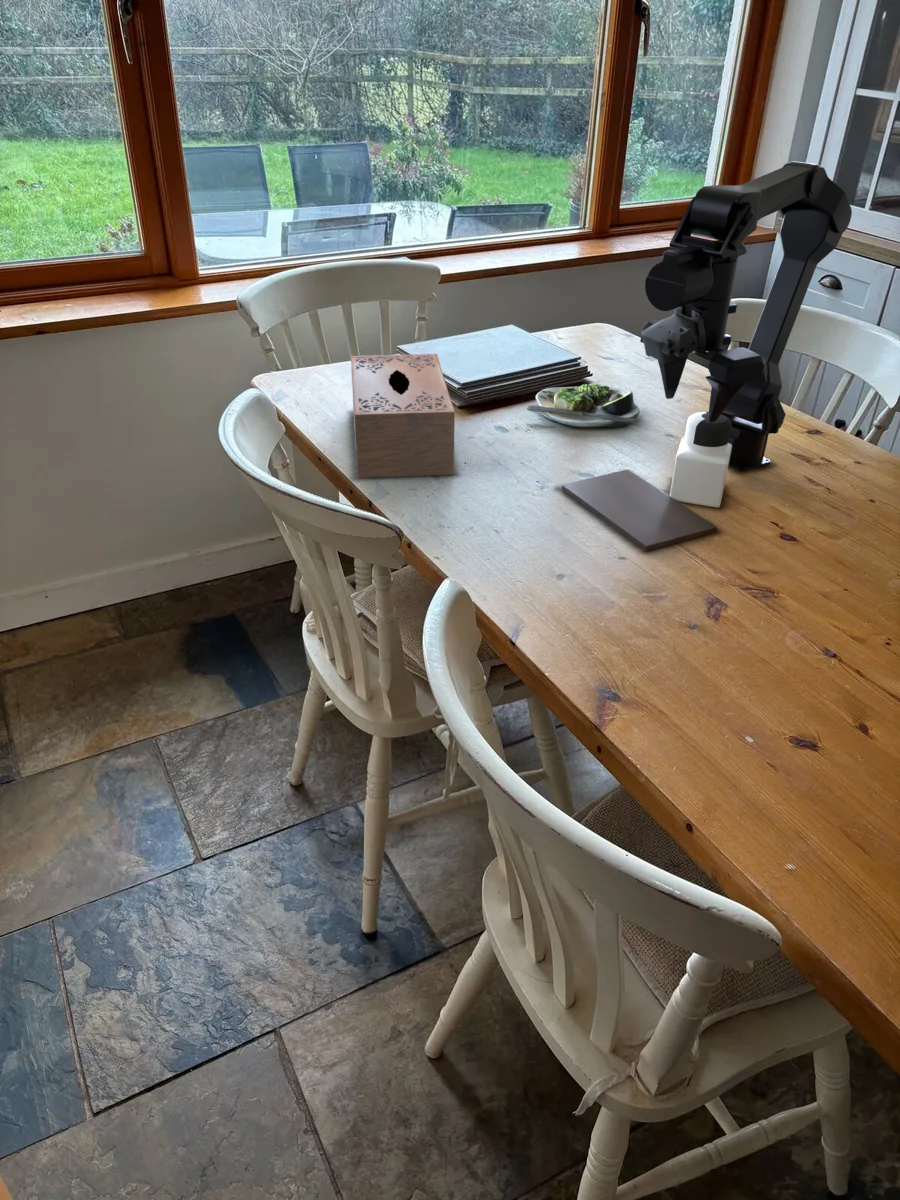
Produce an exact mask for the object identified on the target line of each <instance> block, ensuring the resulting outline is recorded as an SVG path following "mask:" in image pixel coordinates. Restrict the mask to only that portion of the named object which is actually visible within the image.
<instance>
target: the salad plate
mask: <svg viewBox="0 0 900 1200" xmlns="http://www.w3.org/2000/svg"><path fill="white" fill-rule="evenodd" d="M535 401H536V404H537V405H535V404H529V405H527V407H526V410H527V411H529V412H532V413H535V414H539V415H542V416H544V417H545V418H546V419H548V420H550V421H553V422H556V423H558V424H562V425H566V426H570V427H575V428H614V427H615V428H616V427H624V426H628V425H630V424H631V423H633V422H637V419H636V418H638V416H639V414H640V408H639V407H638V405H637V404H635V401H634V393H633V392H632V391H629V392H624V391H623V390H622V389H620V388H617V387H614V386H610V385H609V386H608V385H605V384H599V383H596V384H595V383H589V385H588V384H587V383H585V384H582V385H579V386H562V387H561V386H560V387H559V386H558V387H547V388H545V389H542V390H540V391H539V392H537V394H536V395H535Z"/></svg>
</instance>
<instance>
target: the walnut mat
mask: <svg viewBox="0 0 900 1200" xmlns="http://www.w3.org/2000/svg"><path fill="white" fill-rule="evenodd" d="M561 491H563V492H564V493H565V494H567V495H568V496H569V497H571V498H572V499H574V500H575V501H576V502H577V503H579V504H580V505H582V506H583V507H585V508H586V509H587V510H588V511H590V512H592V514H594V515H595V516H597V518H600V519H601V520H602V521H603V522H605V523H606V524H608V525H609V526H611V527H612V528H613V529H614V530H616V531H617V532H619V533H620V534H621V535H623V537H626V538H627V539H628V540H629V541H630V542H632V543H634V544H635V545H636V546H638V547H639V548H640V549H642V550H643V551H644V552H649V551H652V550H656V549H660V548H662V547H666V546H670V545H673V544H677V543H681V542H684V541H688V540H691V539H695V538H699V537H702V536H706V535H710V534H714V533H716V532H717V531H718V526H717V525H715V524H714V523H712V522H711V521H709V520H708V519H706V518H704V517H703V516H702V515H700V514H698V513H697V512H695V511H694V510H692V509H690V508H689V507H687V506H686V505H684V504H682V502H678V501H676V500H675V499H673V498H672V497H670V494H667V493H665V492H664V491H662V490H661V489H659V488H657V487H656V486H654V484H651V483H650V482H648V481H647V480H645V479H644V478H642V477H641V476H639V475H637V474H636V473H634V472H633V471H631V470H630V469H625V470H620V471H615V472H611V473H606V474H604V475H603V474H602V475H598V476H594V477H590V478H586V479H581V480H577V481H572V482H569V483H564V484H561Z"/></svg>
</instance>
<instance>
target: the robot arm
mask: <svg viewBox="0 0 900 1200" xmlns="http://www.w3.org/2000/svg"><path fill="white" fill-rule="evenodd" d="M777 212H779V214H780V216H781V218H782V223H781V227H780V229H779V237H780V241H781V248H782V252H783V253H782V257H781V260H780V263H779V265H778V268H777V271H776V273H775V277H774V279H773V282H772V284H771V287H770V290H769V292H768V295H767V298H766V301H765V303H764V306H763V308H762V311H761V313H760V317H759V319H758V322H757V325H756V327H755V330H754V333H753V335H752V337H751V340H750V343H749V346H748V348H745V347H738V348H732V349H727V350H724V349H723V346H727V345H731V341H732V338H733V337H732V336H731V335H729V334H727V333H726V331H727V324H728V319H729V315H731V314H736V313H737V308H738V304H736V303H733V302H731V301H732V295H733V290H734V284H735V278H736V273H737V266H738V262H739V257H741V256H744V255H746V254H747V252H748V248H747V247H746V245H745V244H744V240H745V239H746V238H747V237H749V236H750V235H751V234H753V233H755V231H756V230H757V226H758V221H760V220H762V219H763V218H765V217H767V216H769V215H772V214H774V213H777ZM852 213H853V210H852V206H851V204H850V201H849V198H848V196H847V193H846V191H844V189H842V188H841V187H840V186H839V185H838V184H837V183H835V182H834V180H832V179H831V178H829V176H828V174H827V171H826V168H824V166H823V167H822V166H821V165H820V164H817V163H809V162H803V161H802V162H801V161H796V160H795V161H790V162H786V163H785V164H784V165H783V166H782V167H780V168H777V169H775V170H773V171H770V172H768V173H766V174H764V175H761V176H759V177H755V178H754V179H752V180H749V181H747V182H745V183H742V184H736V185H734V184H733V185H732V184H731V185H730V184H713V185H705V186H702V187H701V188H699V189H698V190H697V191H696V193H695V194H694V196H693V197H692V198H691V200H690V202H689V204H688V205H687V207H686V210H685V212H684V214H683V216H682V217H681V220H680V221H679V223H678V226H677V227H676V229H675V231H674V233H673V235H672V238H671V240H670V242H669V248H672V249H668V250H664V252H663V253H662V260H661V262H658V263H656V264H655V265H654V266H652V268H651V269H650V270H649V272H648V274H647V276H646V277H645V281H644V290H645V295H646V297H647V300H648V301H649V303H650V305H652V306H653V308H655V309H657V310H658V311H660V312H661V311H662V312H669V311H673V310H674V312H673V314H672V315H671V316H669V317H665V318H659V319H655V320H653V319H652V320H648V321H647V322H646V323H645V324H644V325H643V327H642V328H641V333H640V343H642V344H643V346H644V351H645V355H646V356H647V357H649V358H650V357H651V358H653V359H654V360H657V363H658V367H659V370H660V375H661V380H662V385H663V391H664V395H665V398H666V399H667V400H671V399H674V397H675V396H676V395H675V394H676V393H677V391H678V388H679V385H680V382H681V379H682V375H683V373H684V369H685V366H686V363H687V360H688V357H689V355H690V354H691V353H692V354H694V355H696V356H698V357H700V358H702V359H704V360H706V361H708V366H707V369H708V372H709V374H710V375H707V376H705V380H706V381H707V382H708V384H709V385H710V387H711V390H710V396H709V397H710V399H709V405H708V412H709V419H708V420H709V422H715V421H717V419H718V418H719V417H720V415H721V414H722V415H724V416H726V417H727V418H729V419H730V421H731V422H732V427H731V432H730V437H729V443H730V444H731V445H732V449H731V454H730V459H729V464H728V467H730V468H732V469H734V470H735V471H738V472H745V471H749V470H753V469H757V468H760V467H761V468H762V467H765V466H768V465H771V462H772V461H771V460H770V459H769V458H766V457H765V453H766V449H767V443H768V440H769V435H770V434H773V435H774V434H779V430H780V429H781V427H782V425H783V424H784V420H785V418H786V412H785V409H784V408H783V406H782V403H781V401H780V398H779V396H780V394H781V391H782V388H783V383H782V377H781V372H780V365H779V364H780V361H781V359H782V357H783V354H784V351H785V349H786V346H787V343H788V341H789V339H790V336H791V333H792V332H793V331H792V330H793V329H794V325H795V322H796V321H797V317H798V315H799V312H800V310H801V307H802V304H803V302H804V299H805V297H806V294H807V292H808V289H809V286H810V284H811V281H812V278H813V276H814V273H815V271H816V268H817V267H818V264H819V263H820V262H822V261H823V260H824V259H825V258H826V257H827V256H829V254H831V253H832V252H833V251H834V250H835V249H836V248H837V246H838V244H839V243H840V241H841V238H842V236H843V234H844V232H846V230H847V229H848V227H849V226H850V223H851V220H852V215H853V214H852Z"/></svg>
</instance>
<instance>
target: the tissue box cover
mask: <svg viewBox="0 0 900 1200" xmlns="http://www.w3.org/2000/svg"><path fill="white" fill-rule="evenodd" d="M350 366H351V367H350V369H351V388H352V389H351V390H352V391H351V392H352V407H353V409H352V411H353V425H354V426H353V427H354V440H355V442H354V443H355V456H356V472H357V473H356V474H357V479H371V478H373V479H375V478H397V477H398V478H400V477H421V476H422V477H424V476H426V477H428V476H449V475H452V476H453V475H454V472H455V470H454V469H455V463H454V462H455V421H456V420H455V418H456V417H455V415H456V413H455V411H456V410H455V408H454V405H453V401H452V399H451V395H450V392H449V389H448V385H447V382H446V379H445V376H444V373H443V369H442V367H441V363H440V359H439V356H438V353H418V354H417V353H415V354H414V353H413V354H371V355H350Z"/></svg>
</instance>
